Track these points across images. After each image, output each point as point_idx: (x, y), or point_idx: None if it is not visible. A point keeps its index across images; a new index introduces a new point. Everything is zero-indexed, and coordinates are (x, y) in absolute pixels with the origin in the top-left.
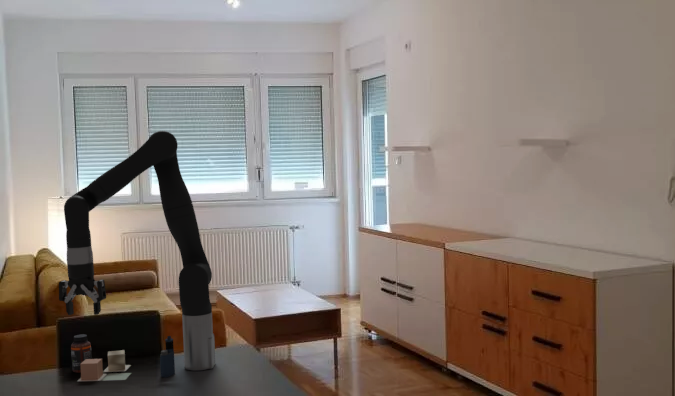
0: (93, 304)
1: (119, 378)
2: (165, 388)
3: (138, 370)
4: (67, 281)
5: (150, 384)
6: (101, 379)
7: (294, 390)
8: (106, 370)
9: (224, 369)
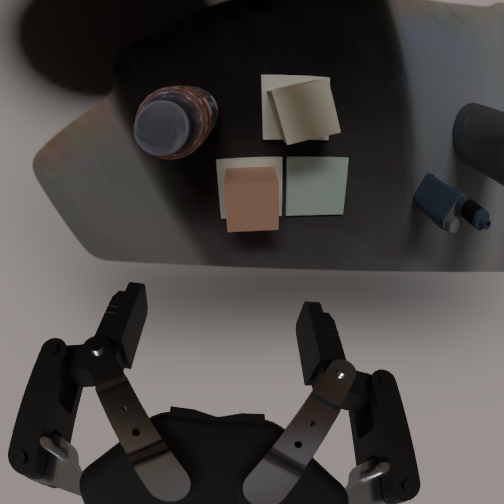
0: (304, 377)
1: (326, 203)
2: (414, 262)
3: (358, 124)
4: (72, 492)
5: (393, 239)
6: (281, 207)
7: None
8: (270, 125)
9: None
